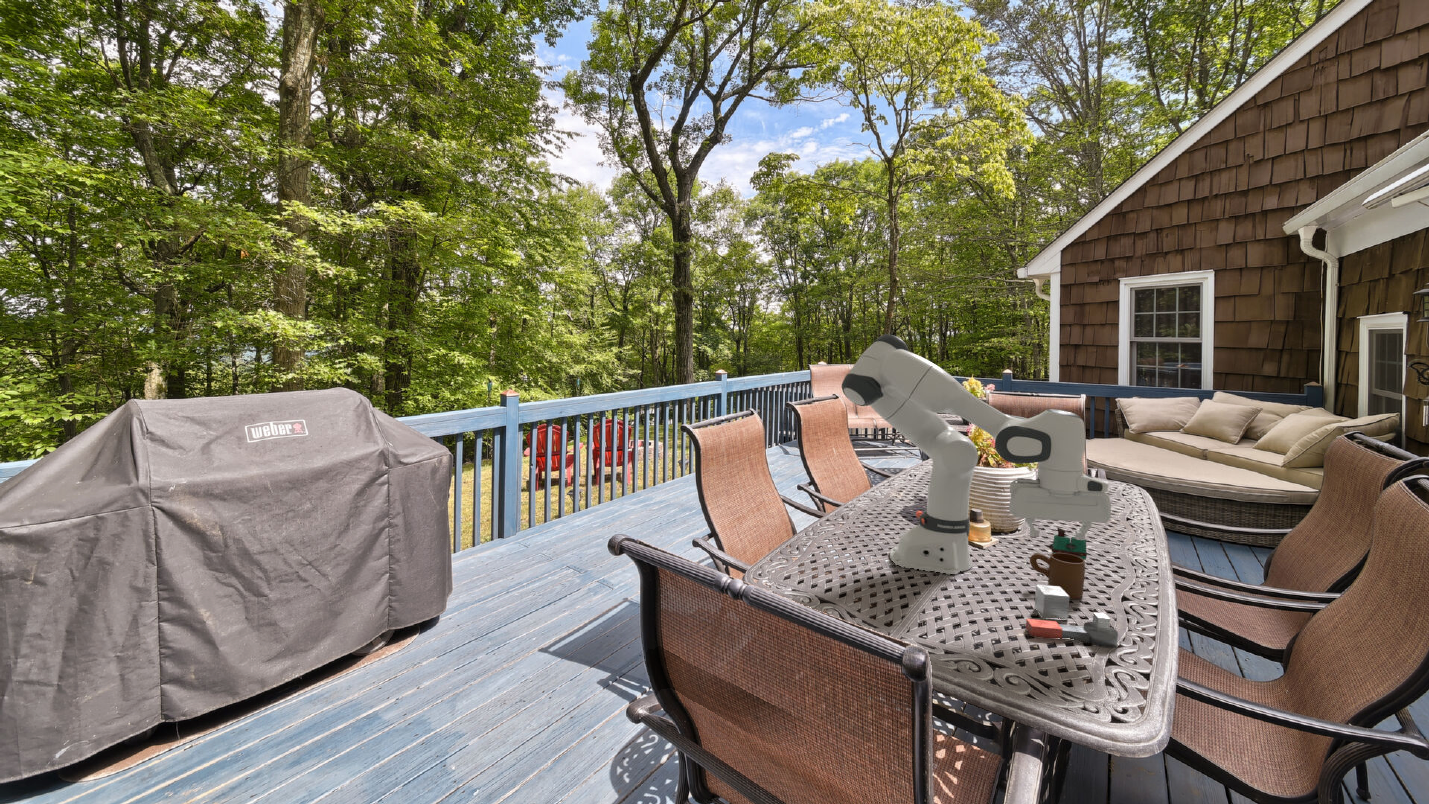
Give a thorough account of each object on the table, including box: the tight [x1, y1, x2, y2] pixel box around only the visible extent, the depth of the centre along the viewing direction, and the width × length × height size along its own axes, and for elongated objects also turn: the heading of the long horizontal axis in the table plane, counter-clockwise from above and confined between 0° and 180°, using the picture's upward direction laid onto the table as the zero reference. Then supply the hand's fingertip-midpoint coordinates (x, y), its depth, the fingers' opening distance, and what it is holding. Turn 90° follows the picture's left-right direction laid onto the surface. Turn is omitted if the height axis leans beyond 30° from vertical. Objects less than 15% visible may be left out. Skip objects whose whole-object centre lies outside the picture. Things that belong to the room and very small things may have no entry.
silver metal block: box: [1034, 584, 1070, 620], centre depth 127 cm, size 5×5×6 cm
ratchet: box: [1025, 612, 1119, 649], centre depth 118 cm, size 17×6×6 cm, turn 78°
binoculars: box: [1048, 527, 1088, 561], centre depth 159 cm, size 9×11×10 cm
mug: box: [1029, 553, 1086, 600], centre depth 140 cm, size 12×8×9 cm, turn 55°
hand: (1056, 537), depth 126 cm, fingers open, 8 cm apart
